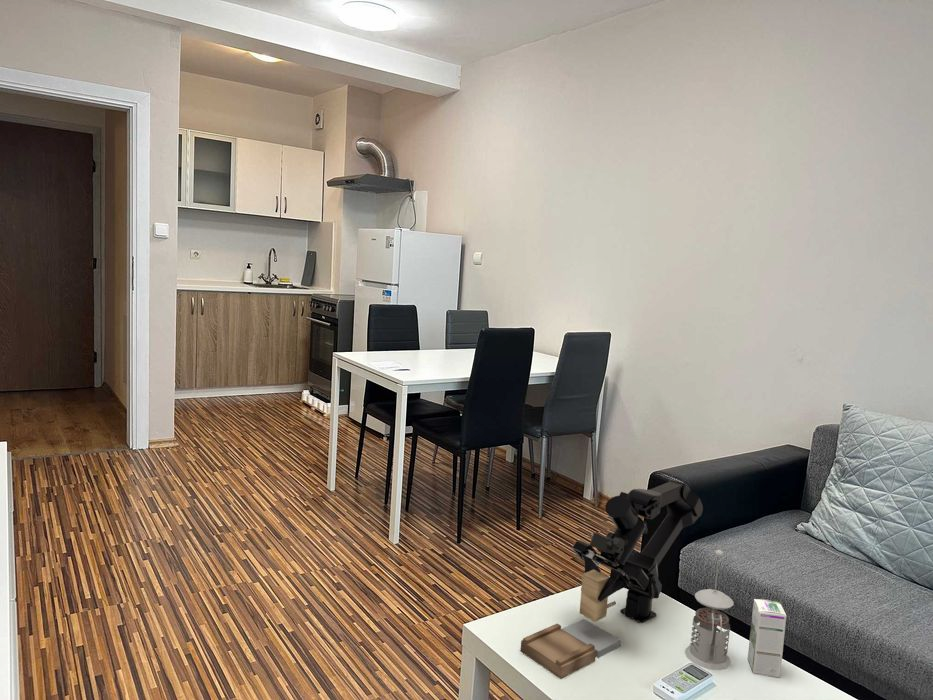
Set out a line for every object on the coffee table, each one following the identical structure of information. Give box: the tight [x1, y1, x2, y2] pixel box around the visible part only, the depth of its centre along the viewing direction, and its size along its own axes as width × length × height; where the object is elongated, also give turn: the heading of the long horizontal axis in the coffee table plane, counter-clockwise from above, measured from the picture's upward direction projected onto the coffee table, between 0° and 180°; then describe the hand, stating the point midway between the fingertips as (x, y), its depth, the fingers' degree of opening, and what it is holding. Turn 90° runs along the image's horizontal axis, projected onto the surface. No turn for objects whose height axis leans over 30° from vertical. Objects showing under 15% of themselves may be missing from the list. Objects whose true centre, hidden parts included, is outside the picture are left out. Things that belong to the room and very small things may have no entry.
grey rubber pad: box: [561, 618, 622, 658], centre depth 154 cm, size 8×11×2 cm
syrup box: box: [747, 598, 787, 678], centre depth 146 cm, size 6×6×14 cm
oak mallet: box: [579, 570, 617, 623], centre depth 154 cm, size 10×4×10 cm, turn 130°
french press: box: [684, 549, 735, 671], centre depth 148 cm, size 10×12×25 cm
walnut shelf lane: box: [520, 623, 597, 679], centre depth 147 cm, size 11×12×3 cm
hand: (590, 595), depth 152 cm, fingers closed on oak mallet, 4 cm apart
